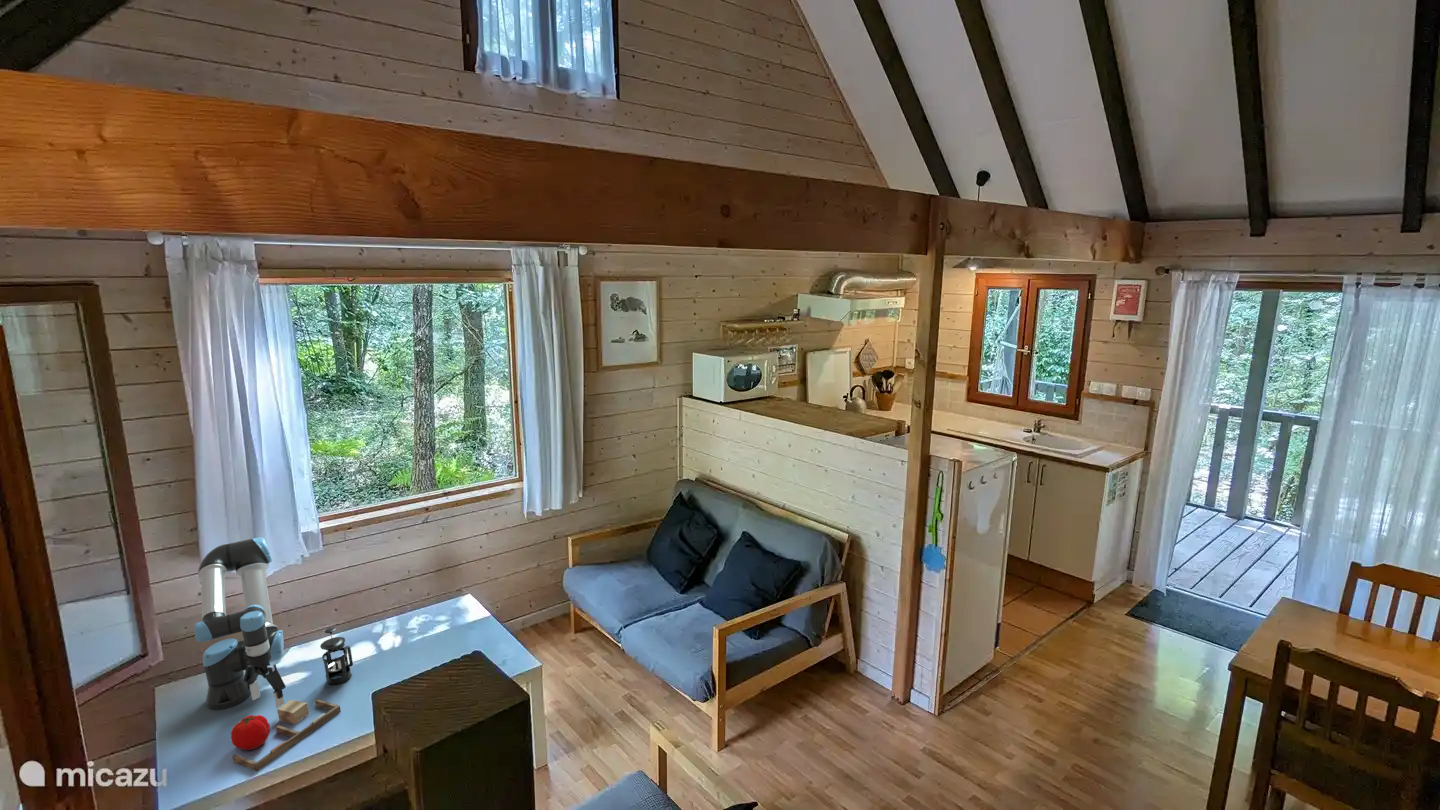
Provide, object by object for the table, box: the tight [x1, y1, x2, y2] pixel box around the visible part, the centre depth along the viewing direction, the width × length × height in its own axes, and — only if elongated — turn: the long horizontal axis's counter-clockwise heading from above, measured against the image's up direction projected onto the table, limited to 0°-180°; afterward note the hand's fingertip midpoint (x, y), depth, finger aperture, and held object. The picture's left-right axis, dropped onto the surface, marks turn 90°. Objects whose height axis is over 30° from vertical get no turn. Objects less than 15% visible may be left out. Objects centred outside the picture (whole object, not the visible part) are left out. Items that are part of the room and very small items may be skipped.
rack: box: [231, 698, 342, 772], centre depth 250 cm, size 12×33×3 cm, turn 159°
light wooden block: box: [276, 699, 310, 725], centre depth 260 cm, size 8×6×5 cm
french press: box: [319, 626, 354, 687], centre depth 281 cm, size 12×9×23 cm
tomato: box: [230, 714, 271, 751], centre depth 245 cm, size 12×12×11 cm
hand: (268, 701), depth 264 cm, fingers open, 13 cm apart
